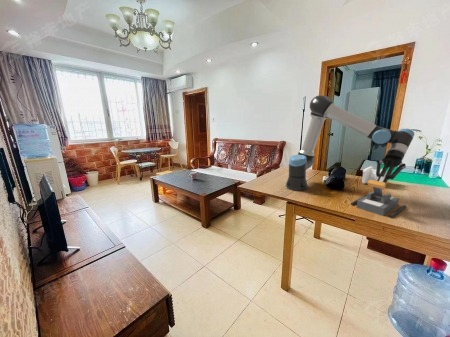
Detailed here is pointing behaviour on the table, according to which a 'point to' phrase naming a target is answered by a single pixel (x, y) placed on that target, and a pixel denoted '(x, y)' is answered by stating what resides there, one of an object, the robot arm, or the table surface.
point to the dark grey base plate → (391, 214)
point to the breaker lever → (377, 188)
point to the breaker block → (378, 203)
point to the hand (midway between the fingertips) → (378, 187)
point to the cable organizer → (370, 174)
